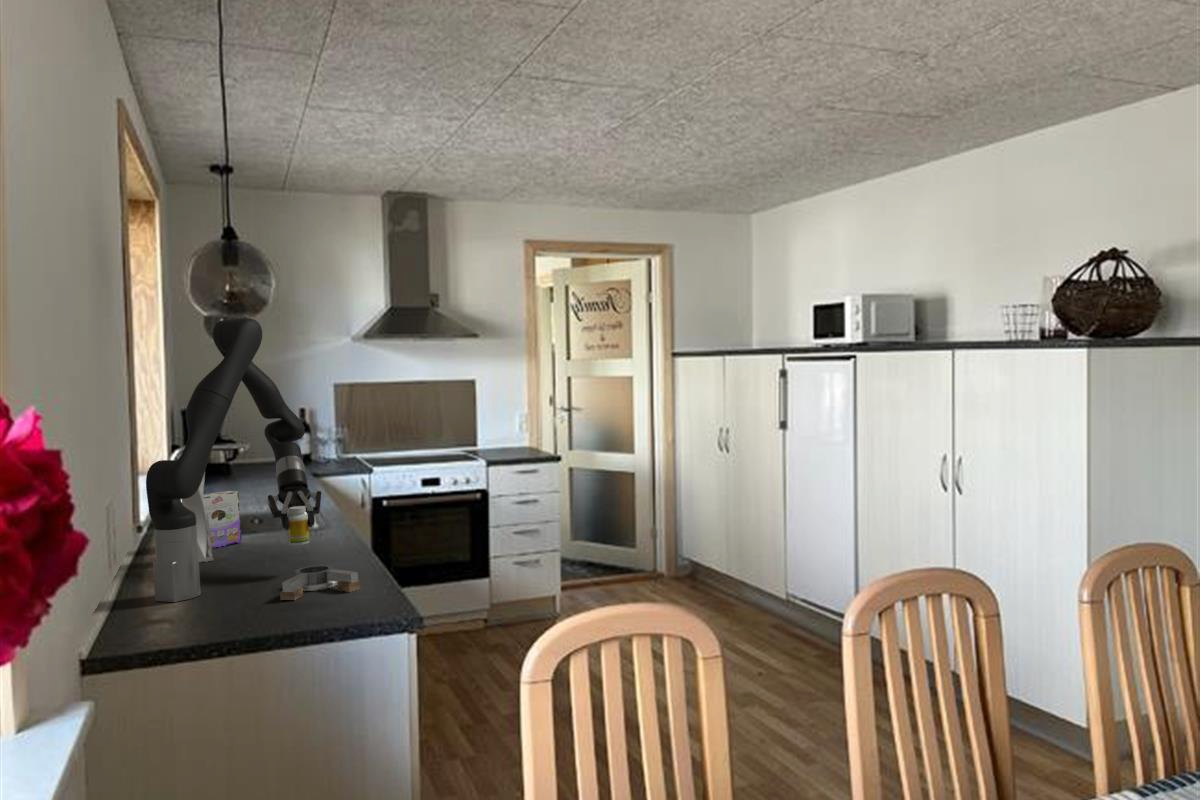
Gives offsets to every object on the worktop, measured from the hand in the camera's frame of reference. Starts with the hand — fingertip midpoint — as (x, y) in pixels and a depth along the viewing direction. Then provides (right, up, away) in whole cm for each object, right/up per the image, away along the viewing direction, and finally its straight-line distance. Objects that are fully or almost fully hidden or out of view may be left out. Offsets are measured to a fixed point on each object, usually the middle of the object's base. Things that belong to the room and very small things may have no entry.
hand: (299, 526), depth 229 cm
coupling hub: (+7, -13, -10) cm, 18 cm away
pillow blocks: (+12, -14, -18) cm, 25 cm away
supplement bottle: (-1, -5, +2) cm, 5 cm away
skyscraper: (-37, -13, +22) cm, 45 cm away
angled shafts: (+11, -11, -18) cm, 24 cm away
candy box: (-40, -12, +43) cm, 60 cm away
